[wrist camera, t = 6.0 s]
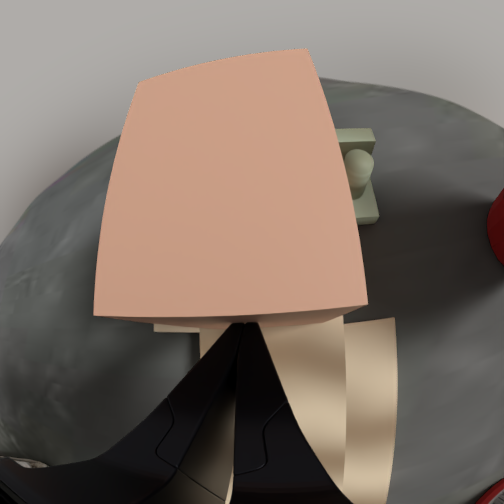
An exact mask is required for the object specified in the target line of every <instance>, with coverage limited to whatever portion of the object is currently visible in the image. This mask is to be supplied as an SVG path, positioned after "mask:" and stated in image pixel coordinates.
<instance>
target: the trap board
mask: <svg viewBox="0 0 504 504" xmlns="http://www.w3.org/2000/svg"><path fill="white" fill-rule="evenodd" d="M335 132H336V135H337V139H338V142H339V146H340V150H341V154H342V158H343V162H344V166H345V170H346V174H347V178H348V183H349V187H350V192H351V196H352V201H353V206H354V211H355V217H356V222H357V225H364V224H375V222H376V221H377V219H378V217H379V213H378V208H377V204H376V199H375V195H374V191H373V187H372V183H371V179H370V175H371V172H372V169H373V167H374V161H373V158H372V157H371V154H372V151H373V148H374V145H375V142H376V141H375V138H374V135H373V132H372V130H371V128H357V129H335ZM260 328H261V331H262V334H263V336H264V339H265V342H266V344H267V347H268V350H269V352H270V355H271V357H272V360H273V363H274V365H275V368H276V370H277V373H278V376H279V378H280V381H281V383H282V386H283V388H284V391H285V394H286V396H287V399H288V402H289V403H290V406H291V408H292V411H293V413H294V416H295V418H296V420H297V422H298V425H299V427H300V429H301V431H302V432H303V434H304V436H305V438H306V439H307V441H308V443H309V444H310V446H311V448H312V449H313V451H314V452H315V454H316V456H317V457H318V459H319V460H320V462H321V463H322V465H323V466H324V468H325V470H326V471H327V473H328V474H329V476H330V477H331V478H332V480H333V481H334V483H335V484H336V485H337V487H338V488H339V489H340V490H341V491H342V492H343V494H344V495H345V496H346V497H347V498H348V499H349V500H350V501H351V502H352V503H354V504H386V500H387V495H388V489H389V483H390V477H391V470H392V462H393V454H394V444H395V432H396V416H397V347H396V330H395V317H393V318H386V319H379V320H372V321H364V322H356V323H348V324H343V315H342V316H339V317H337V318H334V319H332V320H329V321H327V322H324V323H315V324H304V325H291V326H276V327H260ZM225 330H226V329H207V328H194V327H182V326H171V325H162V324H154V332H187V333H200V359H201V358H202V357H203V355H204V354H205V353H206V352H207V351H208V350H209V349H210V347H211V346H212V345H213V344H214V343H215V342H216V340H217V339H218V338H219V337H220V336H221V335H222V334H223V332H224V331H225ZM233 477H234V476H233V468H232V473H231V478H230V483H229V488H228V493H227V498H226V501H225V502H226V503H225V504H229V502H230V499H231V495H232V486H233Z"/></svg>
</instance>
